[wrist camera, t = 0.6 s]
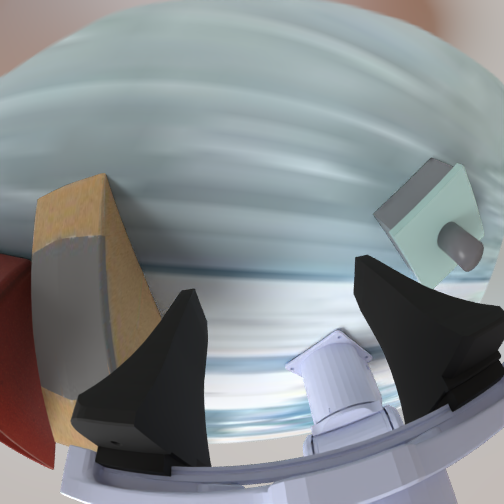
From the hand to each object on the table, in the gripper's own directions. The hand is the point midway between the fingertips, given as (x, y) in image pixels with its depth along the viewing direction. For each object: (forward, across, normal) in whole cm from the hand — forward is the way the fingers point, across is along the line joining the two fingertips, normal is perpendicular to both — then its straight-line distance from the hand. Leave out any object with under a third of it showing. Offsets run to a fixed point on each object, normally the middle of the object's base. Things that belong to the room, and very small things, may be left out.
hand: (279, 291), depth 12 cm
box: (+10, -15, +3) cm, 19 cm away
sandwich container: (+10, +15, +2) cm, 18 cm away
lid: (+7, -15, +3) cm, 17 cm away
